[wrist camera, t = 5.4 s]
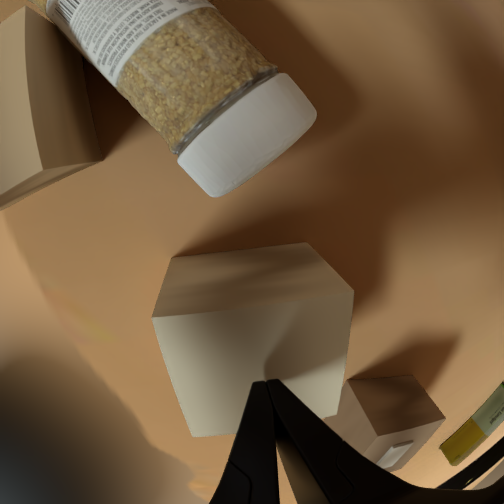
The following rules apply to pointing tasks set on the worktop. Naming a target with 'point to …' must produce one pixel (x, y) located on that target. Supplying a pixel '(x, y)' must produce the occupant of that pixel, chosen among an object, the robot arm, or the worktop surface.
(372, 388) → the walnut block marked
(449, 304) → the worktop surface
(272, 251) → the plain birch block
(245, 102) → the granule seasoning jar
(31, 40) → the oak block marked
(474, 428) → the medication box
